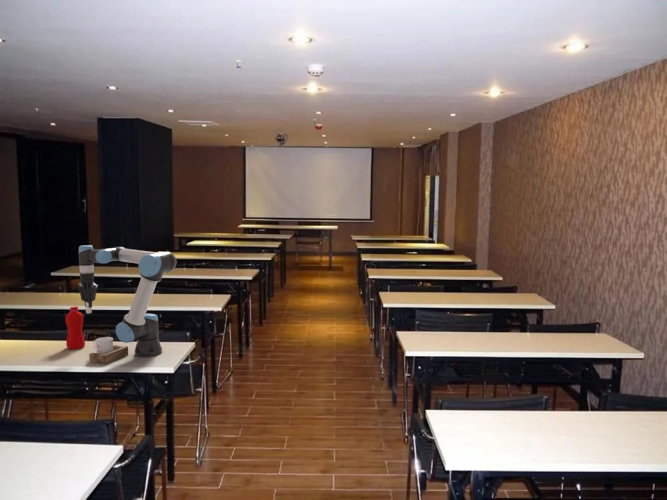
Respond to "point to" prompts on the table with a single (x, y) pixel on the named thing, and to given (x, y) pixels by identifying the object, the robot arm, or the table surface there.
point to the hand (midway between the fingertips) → (88, 312)
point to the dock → (109, 355)
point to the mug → (103, 345)
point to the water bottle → (74, 329)
